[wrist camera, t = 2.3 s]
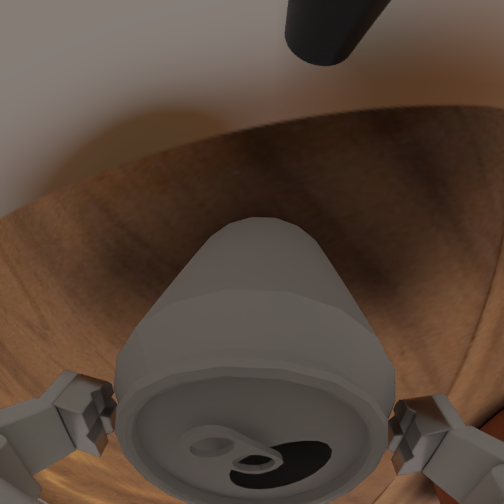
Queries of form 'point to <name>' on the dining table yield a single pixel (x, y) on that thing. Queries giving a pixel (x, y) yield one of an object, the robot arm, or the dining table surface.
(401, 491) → the dining table surface
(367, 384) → the can
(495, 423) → the potted cactus
